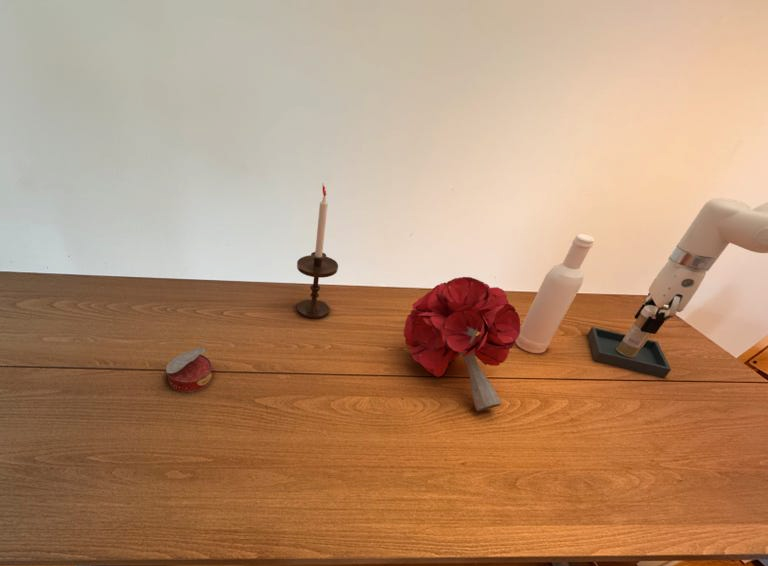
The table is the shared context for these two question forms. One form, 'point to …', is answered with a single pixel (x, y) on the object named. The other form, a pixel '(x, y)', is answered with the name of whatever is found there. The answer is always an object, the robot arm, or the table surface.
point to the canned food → (189, 371)
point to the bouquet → (463, 331)
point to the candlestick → (317, 269)
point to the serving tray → (645, 360)
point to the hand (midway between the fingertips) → (644, 325)
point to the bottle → (554, 298)
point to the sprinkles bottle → (636, 334)
